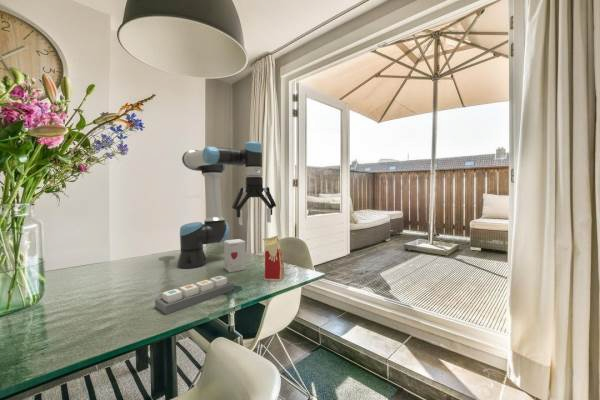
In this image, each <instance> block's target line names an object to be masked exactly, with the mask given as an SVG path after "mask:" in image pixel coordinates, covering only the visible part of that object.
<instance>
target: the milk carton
mask: <svg viewBox="0 0 600 400" xmlns="http://www.w3.org/2000/svg"><path fill="white" fill-rule="evenodd" d="M262 240H263V241H264V271H263V272H264V273H263V280H264V281H268V282H269V281H272V282H273V281H277V282H281V281H282V279H283V278H284V276H285V274H286V273H285V263H284V256H283V252H282V248H281V244H280V239H279V235H275V236H272V237H267V238H262Z"/></svg>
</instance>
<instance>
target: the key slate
mask: <svg viewBox="0 0 600 400" xmlns="http://www.w3.org/2000/svg"><path fill="white" fill-rule="evenodd" d="M209 281H212V282H213V286H214V287H216V288H217V287H220V286H223V285H226V284H227V281H228V278H227V277H226V276H223V275H217V276H213V277H211V278H210V279H209Z"/></svg>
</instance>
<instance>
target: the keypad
mask: <svg viewBox="0 0 600 400" xmlns="http://www.w3.org/2000/svg"><path fill="white" fill-rule="evenodd" d="M232 290H233V291H235V284H234V282H231V281H229V280H227V284H226V285H223V286H220V287H217V288H216V287H214V286H213V289H211V290H208V291H205V292H200V291H199V294H196V295H193V296H190V297H187V298H186V297H184V296H182V299H181V300H177V301H174V302H171V303H167V302H165V301H164V300H163V296H161V297H158V298H156V299H154V307H155V308H156V309H157V310H158V311H160V312H162V313H163V314H164V315H168V314H169V315H170V314H171V313H174V312H177V311H180V310H183V309H185V308H188V307H192V306H194V305H197V304H201V303H202V302H205V301H207V300H211V299H213V298H216V297H219V296H222V295H224V293H225V294H227V292H228V293H230V292H233V291H232ZM229 291H230V292H229Z"/></svg>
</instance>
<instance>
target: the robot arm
mask: <svg viewBox="0 0 600 400" xmlns="http://www.w3.org/2000/svg"><path fill="white" fill-rule="evenodd" d="M262 148H263V147H262V143H261V142H260V141H259V142H258V141H246V142H245V143H244V148H241V149H240V148H231V147H230V148H227V147H218V146H213V145H211V146H204V148H203V149H202V150H199V149H198V150H197V149H195V150H193V149H192V150H187V151H185V152H184V153H183V155H182V156H181V157H182V158H181V160H182V161H181V163H182V164H183V166H184V167H186V168H187V169H189V170H191V171H196V172H197V171H198V172H201V175H202V176H203V178H204V189H205V190H204V192H205V208H206V218H205V219H204V220H203V221H204V223H203V222H202V221H196V222H190V223H186V224H185V223H184V224H183V225H181V226H180V227H179V244H180V245H179V246H180V253H179V257H178V260H177V268H179V269H185V270H186V269H194V268H195V269H196V268H200V267H203V266H206V265H207V264H208V259H207V257H206V255H205V251H204V245H209V244H216V243H222V242H223V243H224V241H226V240H227V239H228V237H229V235H230V226H229V223H228V222H227V221H226V220H225V218H224V217H223V210H222V194H221V193H222V192H221V176H223V172H224V171H225V170H226V167H227V166H229V165H231V166H237V167H244V166H245V187H239V188H238V193H237V195H236V197H235V199H234V202H233V204H232V206H231V208H232V209H234V210H235V211H236V217H237V218H238V225H240V226H243V210H242V208H243V206H244V205H245V204H246V203H247V201H249V199H251V198H260V199H261V200H262V201H263V203H264V204H265V205H266V206H267V208H266V222H267V223H272V218H271V217H272V216H273V209H274V208H275V207H277V204H276V202H275V200H274V198H273V196H272V194H271V192H270V190H271V189H270V187H268V186H267V187H263V186H264V184H263V183H264V182H263V179H264V178H263V149H262ZM245 192H246V194H245V196H244V197H242V196H243V193H245ZM263 193H265V195H266V197H267V198H266V197H265V195H264V194H263ZM241 199H242V200H241Z"/></svg>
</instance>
